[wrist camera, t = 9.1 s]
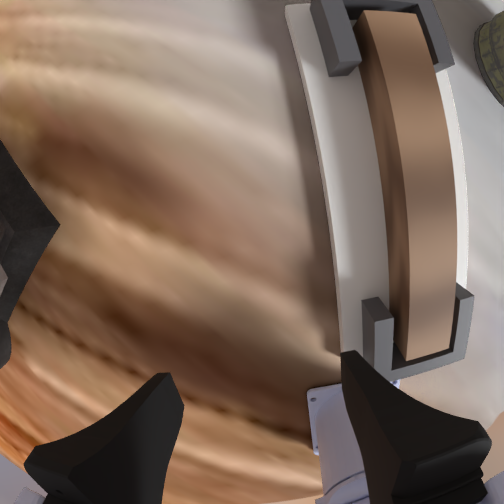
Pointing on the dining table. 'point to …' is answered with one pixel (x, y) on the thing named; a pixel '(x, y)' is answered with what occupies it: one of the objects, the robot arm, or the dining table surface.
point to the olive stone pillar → (491, 54)
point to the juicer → (18, 240)
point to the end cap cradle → (370, 177)
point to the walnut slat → (412, 178)
